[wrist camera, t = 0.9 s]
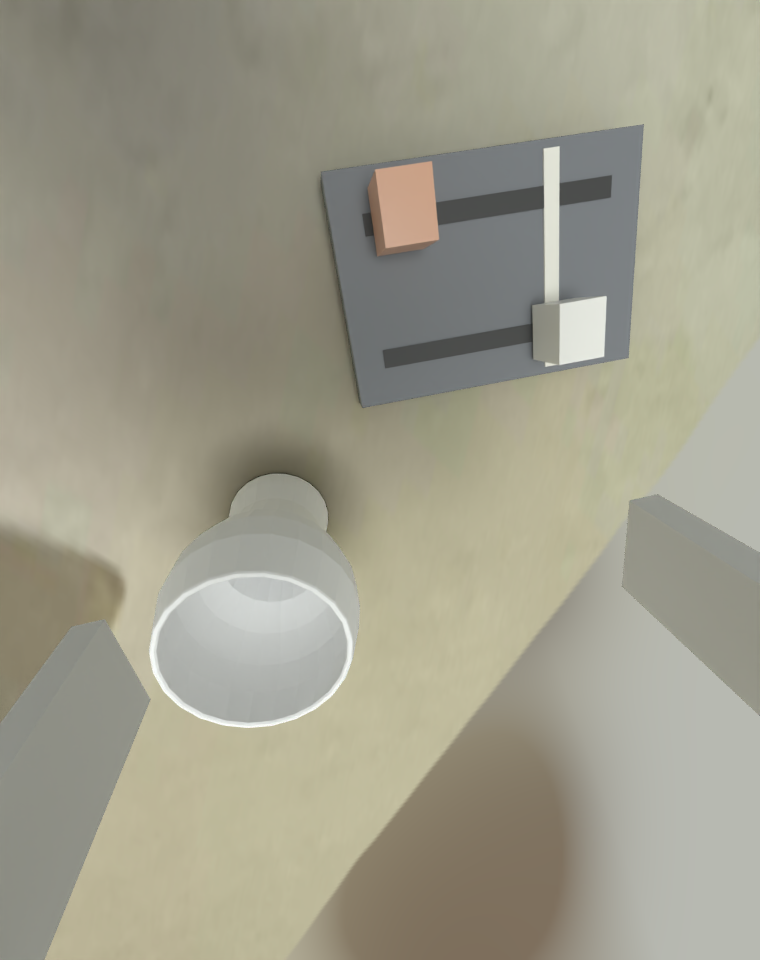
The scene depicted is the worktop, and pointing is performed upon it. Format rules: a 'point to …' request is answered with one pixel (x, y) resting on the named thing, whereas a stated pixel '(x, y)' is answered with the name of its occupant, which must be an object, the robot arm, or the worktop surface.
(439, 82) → the worktop surface
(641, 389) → the worktop surface
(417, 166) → the fader front
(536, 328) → the block
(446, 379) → the console
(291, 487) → the cup
